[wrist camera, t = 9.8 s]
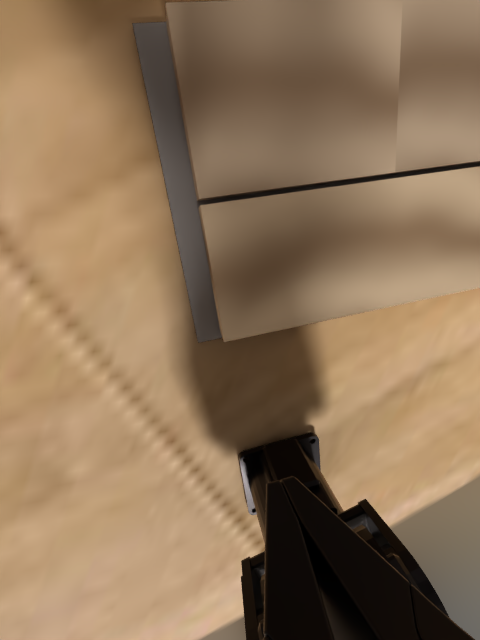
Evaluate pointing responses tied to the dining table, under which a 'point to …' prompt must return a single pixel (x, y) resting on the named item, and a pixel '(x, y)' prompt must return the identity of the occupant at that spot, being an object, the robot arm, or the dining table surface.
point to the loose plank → (341, 250)
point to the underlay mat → (180, 177)
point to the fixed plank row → (324, 89)
